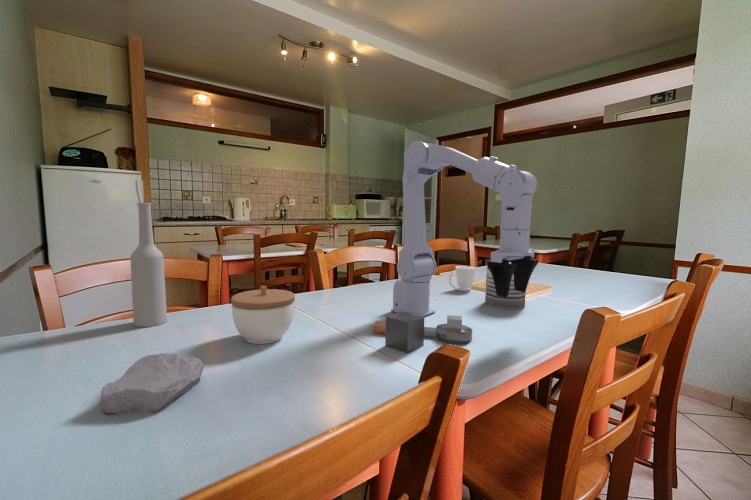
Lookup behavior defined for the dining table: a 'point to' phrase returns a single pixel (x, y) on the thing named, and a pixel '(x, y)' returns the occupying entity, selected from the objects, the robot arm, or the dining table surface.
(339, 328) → the dining table surface
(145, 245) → the bottle
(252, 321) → the lidded bowl
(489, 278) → the can
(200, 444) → the dining table surface
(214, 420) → the dining table surface
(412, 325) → the dark grey cube
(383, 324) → the ratchet
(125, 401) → the stone block
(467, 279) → the cup
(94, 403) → the dining table surface
